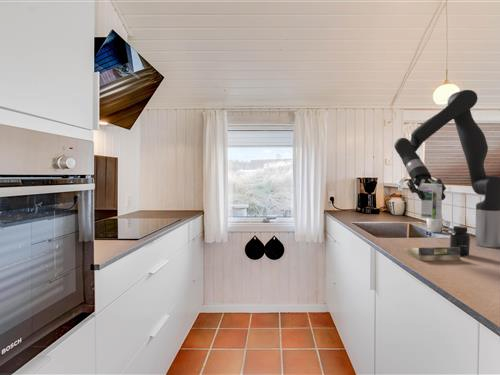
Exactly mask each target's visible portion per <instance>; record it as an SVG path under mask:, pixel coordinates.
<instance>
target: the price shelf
mask: <svg viewBox="0 0 500 375" xmlns="http://www.w3.org/2000/svg"><path fill="white" fill-rule="evenodd" d="M403 253H404V254H406V255H408V256H411V257H412V258H414V259H416V260H418V261H422V262H423V261H425V262H426V261H427V262H428V261H431V262H432V261H460V260H461V256H460V248H459V247H450V246H447V247H445V246H443V247H441V246H436V247H435V246H434V247H433V246H431V247H403Z"/></svg>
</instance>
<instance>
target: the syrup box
mask: <svg viewBox="0 0 500 375" xmlns="http://www.w3.org/2000/svg"><path fill="white" fill-rule="evenodd" d="M421 191H423V193H424V195H425V197H426V198H425V199H424V200H421V199H420V203H421V204H420V218H423V219H427V218H429V219H438V218H441V215H442V204H443V203H442V201H443V200H442V184H430V183H424V184H422V186H421Z"/></svg>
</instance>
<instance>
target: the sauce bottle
mask: <svg viewBox="0 0 500 375" xmlns="http://www.w3.org/2000/svg"><path fill="white" fill-rule="evenodd" d="M443 224H444V220H443V215H442V214H441V218H438V219H429V218H426V226H427V229H428V230H430V232H432V233H438V232H439V231H440V230H441V229H442V228H443Z"/></svg>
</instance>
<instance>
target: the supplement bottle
mask: <svg viewBox="0 0 500 375" xmlns="http://www.w3.org/2000/svg"><path fill="white" fill-rule="evenodd" d="M452 231H453V232H451V233H450V236H449V247H459V248H460V257H469V256H470V248H471V247H470V246H471V244H470V242H471V235H470V234H469V233H468V227H467V226H462V225H461V226H460V225H453V227H452Z"/></svg>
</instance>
